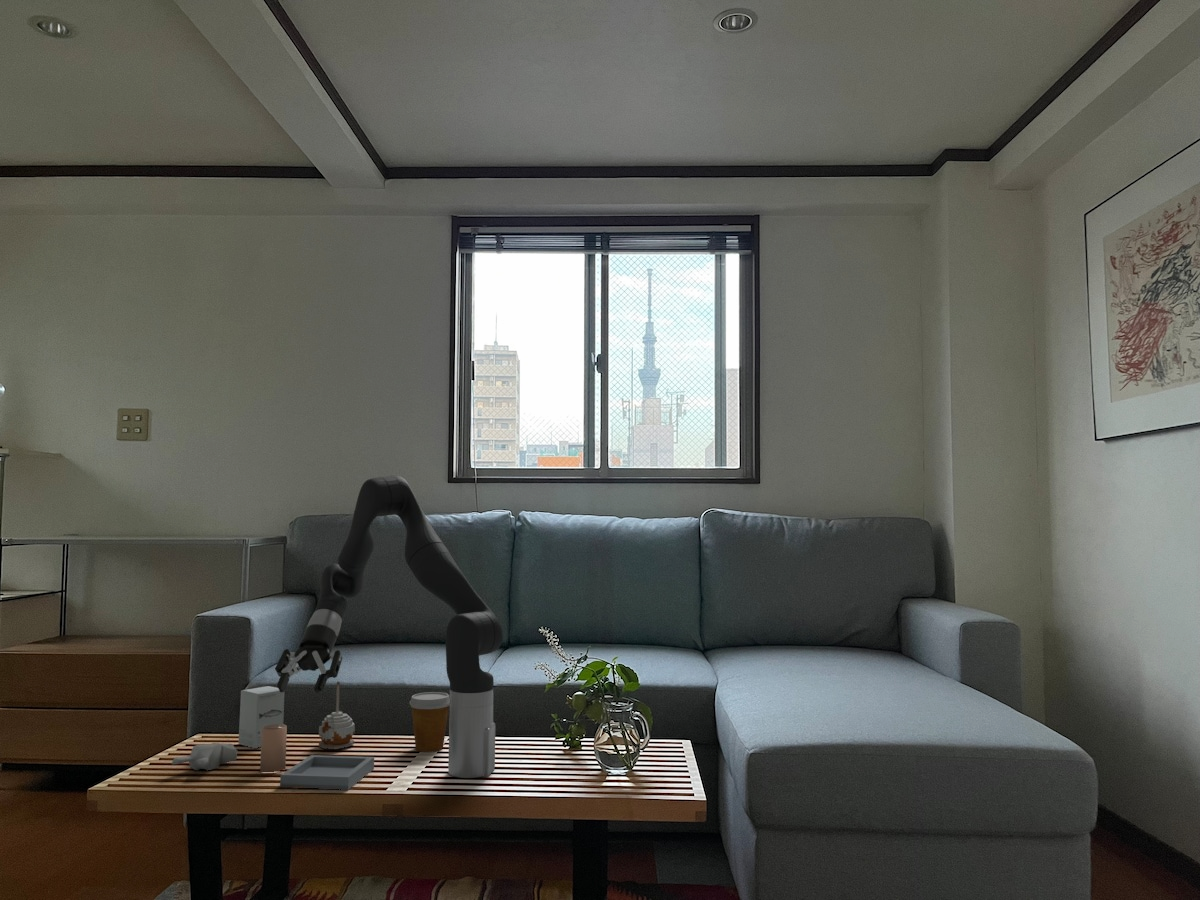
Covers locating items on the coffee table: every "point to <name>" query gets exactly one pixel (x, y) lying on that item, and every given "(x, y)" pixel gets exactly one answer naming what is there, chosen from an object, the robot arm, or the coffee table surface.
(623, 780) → the coffee table surface
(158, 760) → the coffee table surface
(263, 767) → the tumbler
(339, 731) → the caramel apple
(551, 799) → the coffee table surface
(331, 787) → the tray
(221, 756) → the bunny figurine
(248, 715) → the supplement box
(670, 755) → the coffee table surface
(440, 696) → the disposable coffee cup
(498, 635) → the robot arm
